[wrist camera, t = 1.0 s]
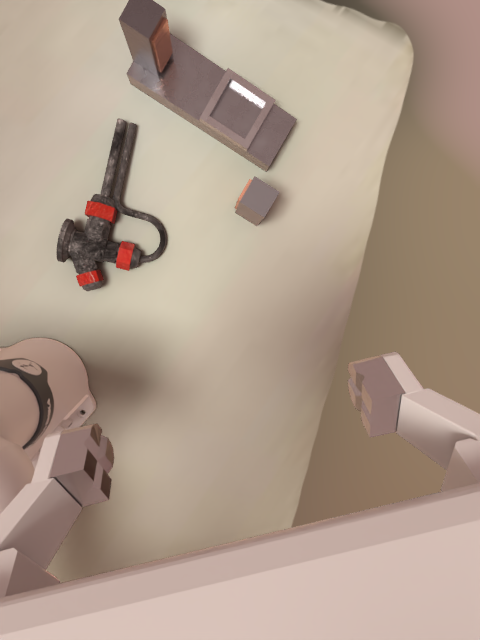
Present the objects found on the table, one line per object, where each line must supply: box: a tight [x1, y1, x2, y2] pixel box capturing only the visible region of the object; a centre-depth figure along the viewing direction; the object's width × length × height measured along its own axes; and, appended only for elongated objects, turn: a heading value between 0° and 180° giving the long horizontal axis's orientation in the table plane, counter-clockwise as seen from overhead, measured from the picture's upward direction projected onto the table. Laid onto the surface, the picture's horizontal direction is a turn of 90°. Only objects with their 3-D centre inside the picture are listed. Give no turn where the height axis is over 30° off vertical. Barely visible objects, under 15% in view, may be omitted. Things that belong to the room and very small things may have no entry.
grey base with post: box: [119, 0, 297, 171], centre depth 53 cm, size 8×24×12 cm, turn 59°
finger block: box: [235, 176, 279, 226], centre depth 57 cm, size 4×4×9 cm
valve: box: [57, 119, 167, 291], centre depth 58 cm, size 6×26×15 cm
